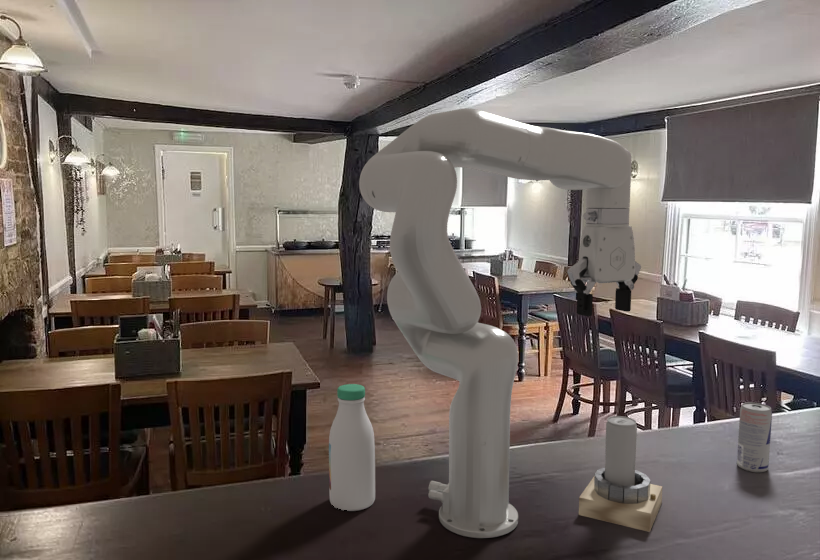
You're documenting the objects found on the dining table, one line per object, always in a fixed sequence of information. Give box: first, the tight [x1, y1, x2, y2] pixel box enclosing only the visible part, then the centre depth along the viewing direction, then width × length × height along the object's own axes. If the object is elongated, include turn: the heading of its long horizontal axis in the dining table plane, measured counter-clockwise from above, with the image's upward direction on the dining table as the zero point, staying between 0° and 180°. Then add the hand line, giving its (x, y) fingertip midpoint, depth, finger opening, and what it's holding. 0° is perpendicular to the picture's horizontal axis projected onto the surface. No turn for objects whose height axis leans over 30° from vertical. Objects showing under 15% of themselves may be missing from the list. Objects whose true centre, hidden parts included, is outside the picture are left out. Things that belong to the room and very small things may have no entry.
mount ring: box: [593, 467, 652, 504], centre depth 107 cm, size 8×8×2 cm
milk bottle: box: [328, 383, 376, 512], centre depth 109 cm, size 8×8×20 cm
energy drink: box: [736, 401, 773, 473], centre depth 123 cm, size 5×5×12 cm
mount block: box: [578, 475, 663, 533], centre depth 107 cm, size 11×11×4 cm
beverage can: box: [604, 415, 638, 486], centre depth 107 cm, size 5×5×12 cm
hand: (603, 312), depth 118 cm, fingers open, 9 cm apart
